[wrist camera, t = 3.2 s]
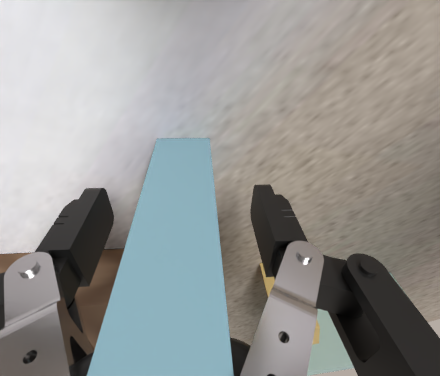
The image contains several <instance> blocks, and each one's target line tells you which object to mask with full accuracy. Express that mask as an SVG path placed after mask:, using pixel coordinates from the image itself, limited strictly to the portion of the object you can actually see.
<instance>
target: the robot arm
mask: <svg viewBox="0 0 440 376" xmlns="http://www.w3.org/2000/svg"><path fill="white" fill-rule="evenodd" d="M113 221H114V215H113V210H112V207H111V204H110V201H109V198H108V195H107V192H106V190H105V189H104V188H86V189H85V190H84V192H83V193H82V195H81V197H80V198H79V199H78V200H73V201H72V202H70V203H69V204H68V205H67V206H65V207H64V209H63V210H62V212H61V213H60V215H59V218H57V219H56V221H55V222H54V225H52V227H51V228H50V230H49V231H48V233H47V234H46V236H45V237H44V239H43V240H42V242H41V243H40V245H39V247H38V248H37V250H36V251H35V253H31V254H28V255H25V256H23V257H21V258H19V259H18V260H16V261H15V262H14V263H13V264H12V265H11V266H10V267H9V268H8V269H7V271H6V272H4V273H0V376H87V373H88V370H89V367H90V363H91V360H92V357H93V353H94V352H93V349H92V347H91V345H90V343H89V340H88V337H87V334H86V330H85V326H84V323H83V319H82V315H81V311H80V308H79V304H78V300H77V297H76V296H75V294H76V292H77V289H78V287H89V286H90V283H91V281H92V278H93V275H94V273H95V270H96V268H97V265H98V262H99V260H100V257H101V255H102V252H103V249H104V247H105V244H106V241H107V239H108V236H109V234H110V231H111V228H112V226H113ZM251 221H252V225H253V229H254V232H255V236H256V240H257V244H258V248H259V252H260V255H261V259H262V263H263V267H264V271H265V275H266V277H274V279H275V282H274V285H273V287H272V289H271V291H270V294H269V297H268V300H267V302H266V305H265V308H264V311H263V313H262V316H261V319H260V322H259V325H258V327H257V330H256V333H255V336H254V338H253V341H252V344H251V346H250V345H248V344H246V343H244V342H243V341H240V340H237V339H234V338H230V344H231V354H232V364H233V374H234V376H307V372H308V366H309V360H310V355H311V349H312V343H313V338H314V332H315V326H316V320H317V314H318V309H321V310H324V311H328V313H329V315H330V317H331V319H332V322H333V324H334V326H335V328H336V330H337V332H338V334H339V336H340V339H341V341H342V343H343V345H344V347H345V349H346V351H347V353H348V355H349V358H350V360H351V362H352V364H353V366H354V368H355V370H356V372H357V374H358V376H440V338H439V337H438V335H437V334H436V333H435V332H434V330H433V329H432V328H431V327H430V325H429V324H428V323H427V321H426V320H425V319H424V317H423V316H422V315H421V313H420V312H419V311H418V310H417V308H416V307H415V306H414V304H413V303H412V302H411V300H410V299H409V298H408V297H407V295H406V294H405V293H404V291H403V290H402V289H401V288H400V286H399V285H398V284H397V282H396V281H395V280H394V278H393V277H392V276H391V275H390V273H389V272H388V271H387V269H386V268H385V267H384V266H383V265H382V264H381V263H380V262H379V261H378V260H376V259H375V258H373V257H371V256H368V255H365V254H353V255H351V256H349V258H348V259H347V261H346V260H341V259H337V258H332V257H328V256H325V255H323V254H322V253H321V251H320V250H319V249H318V248H317V247H316V246H315V245H313V244H311V243H309V242H308V241H307V239H306V237H305V235H304V233H303V231H302V228H301V226H300V224H299V222H298V220H297V218H296V217H295V214H294V212H293V211H292V208H291V206H290V203H289V201H288V200H287V199H285V198H284V197H283V196H282V195H275V194H274V192H273V189H272V187H271V185H255V186H254V189H253V196H252V203H251ZM229 335H230V332H229Z"/></svg>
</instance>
